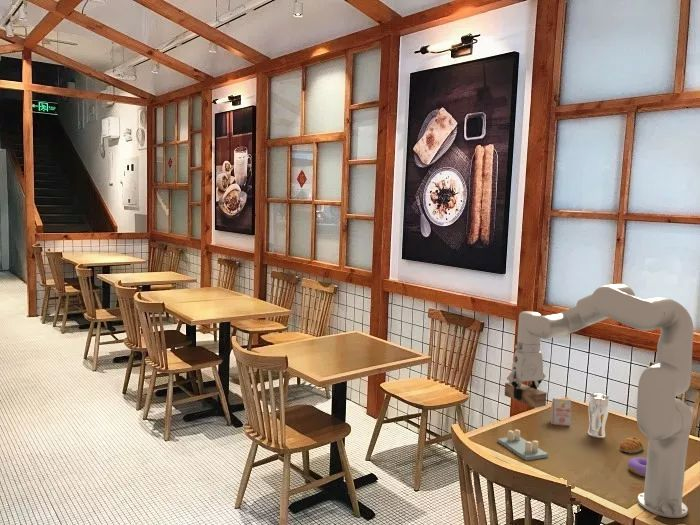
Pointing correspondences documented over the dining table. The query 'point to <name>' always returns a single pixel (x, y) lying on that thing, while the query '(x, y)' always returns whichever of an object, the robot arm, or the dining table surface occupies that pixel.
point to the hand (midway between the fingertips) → (524, 397)
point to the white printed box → (561, 412)
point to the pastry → (631, 445)
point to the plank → (527, 395)
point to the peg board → (522, 446)
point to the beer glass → (598, 414)
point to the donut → (638, 466)
